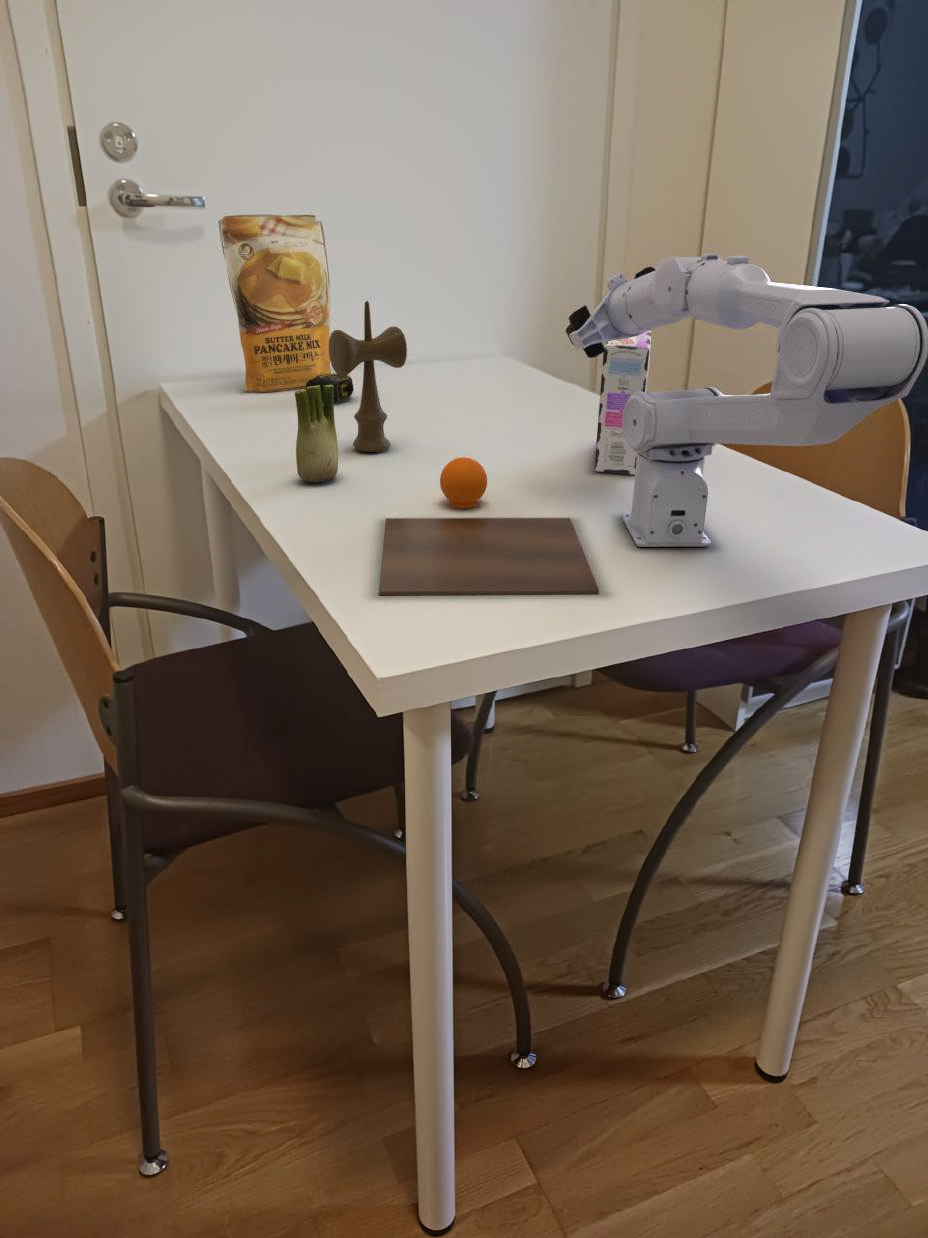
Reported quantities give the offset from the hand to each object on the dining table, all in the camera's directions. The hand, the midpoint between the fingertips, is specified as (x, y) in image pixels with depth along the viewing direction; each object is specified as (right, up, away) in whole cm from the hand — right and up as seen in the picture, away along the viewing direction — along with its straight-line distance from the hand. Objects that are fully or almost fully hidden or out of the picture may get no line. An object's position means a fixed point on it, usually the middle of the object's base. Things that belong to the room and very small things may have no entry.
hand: (596, 320), depth 117 cm
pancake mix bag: (-47, +4, +53) cm, 71 cm away
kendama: (-29, -13, +18) cm, 37 cm away
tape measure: (-38, 0, +44) cm, 58 cm away
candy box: (+5, -15, +15) cm, 22 cm away
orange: (-16, -23, -2) cm, 28 cm away
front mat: (-14, -30, -17) cm, 37 cm away
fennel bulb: (-35, -19, +5) cm, 40 cm away
